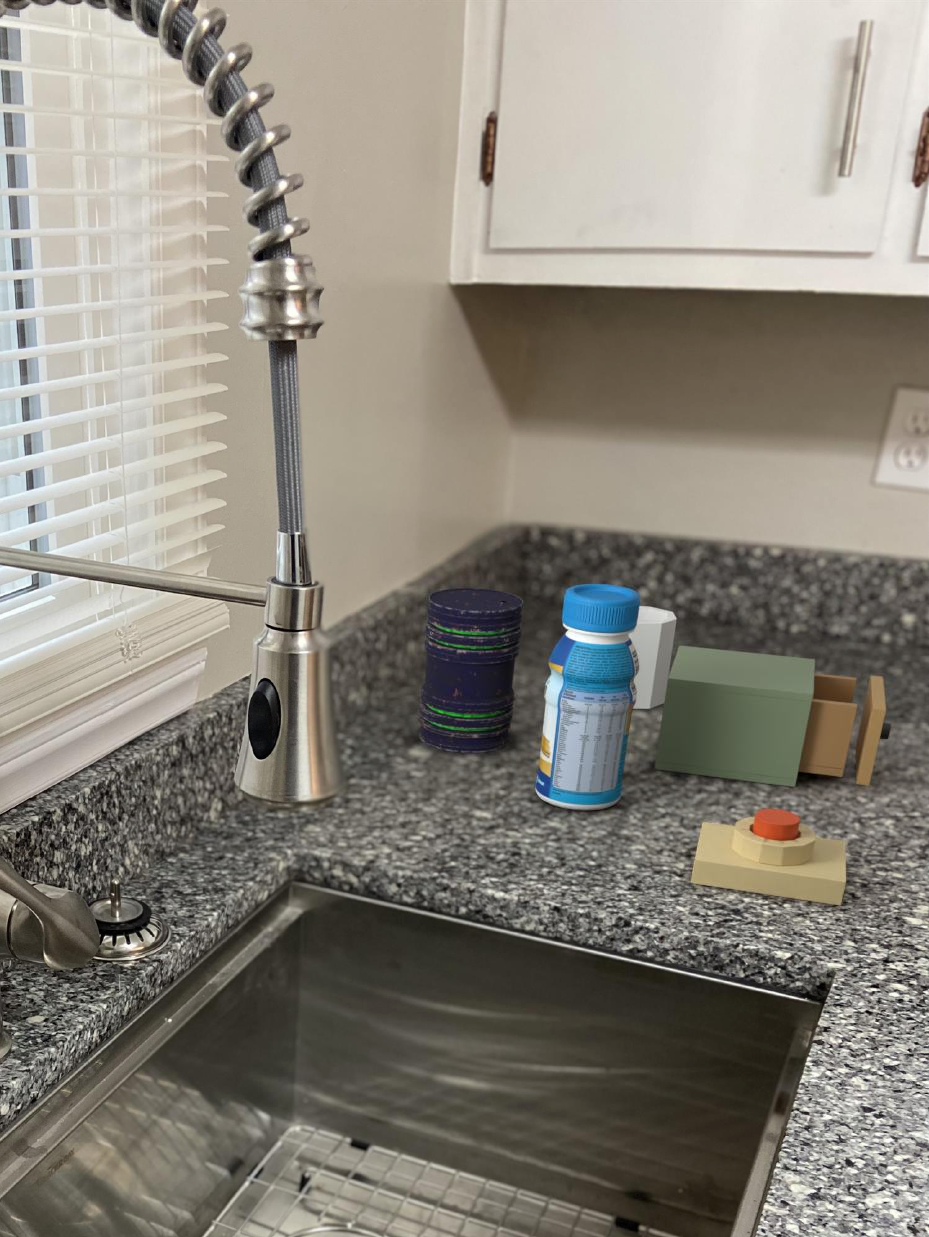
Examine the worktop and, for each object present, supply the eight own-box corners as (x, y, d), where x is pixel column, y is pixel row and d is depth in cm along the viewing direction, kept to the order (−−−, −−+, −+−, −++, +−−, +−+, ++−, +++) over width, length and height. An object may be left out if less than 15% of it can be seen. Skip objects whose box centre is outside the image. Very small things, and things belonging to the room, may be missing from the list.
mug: (671, 693, 171) (684, 610, 166) (655, 713, 164) (668, 628, 159) (571, 679, 175) (580, 598, 171) (551, 698, 168) (561, 614, 164)
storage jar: (409, 747, 153) (419, 606, 146) (426, 718, 161) (436, 584, 155) (504, 757, 150) (518, 615, 144) (516, 728, 159) (530, 592, 152)
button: (796, 831, 124) (800, 812, 124) (795, 846, 121) (799, 827, 121) (753, 824, 126) (756, 806, 125) (751, 840, 123) (754, 821, 122)
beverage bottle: (577, 819, 136) (604, 607, 126) (514, 791, 142) (536, 587, 133) (640, 802, 140) (670, 595, 131) (576, 775, 146) (601, 576, 137)
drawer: (879, 750, 151) (895, 677, 147) (882, 787, 141) (900, 710, 138) (742, 734, 155) (754, 663, 151) (735, 769, 145) (749, 694, 142)
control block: (840, 864, 127) (849, 822, 125) (841, 905, 120) (850, 861, 118) (699, 843, 131) (705, 802, 129) (690, 883, 123) (697, 840, 121)
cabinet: (797, 747, 154) (815, 659, 150) (795, 787, 144) (813, 693, 139) (666, 731, 158) (679, 645, 154) (654, 769, 148) (667, 678, 143)
